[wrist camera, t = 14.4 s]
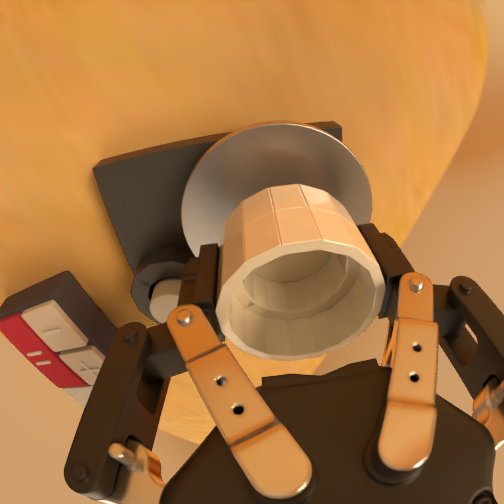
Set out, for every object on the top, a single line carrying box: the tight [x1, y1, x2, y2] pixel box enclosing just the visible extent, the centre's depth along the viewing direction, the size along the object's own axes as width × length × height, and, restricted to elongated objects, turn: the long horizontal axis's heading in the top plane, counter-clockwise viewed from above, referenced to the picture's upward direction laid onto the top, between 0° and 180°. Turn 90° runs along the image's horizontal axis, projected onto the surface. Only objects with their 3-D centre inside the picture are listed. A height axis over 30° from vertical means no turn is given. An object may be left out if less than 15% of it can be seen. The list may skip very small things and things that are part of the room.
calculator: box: [0, 271, 117, 406], centre depth 25 cm, size 11×4×15 cm
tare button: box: [150, 278, 182, 323], centre depth 19 cm, size 3×3×2 cm
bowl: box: [215, 184, 386, 361], centre depth 12 cm, size 6×6×4 cm
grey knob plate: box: [93, 121, 342, 324], centre depth 19 cm, size 14×12×3 cm
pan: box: [181, 121, 372, 257], centre depth 16 cm, size 10×10×1 cm
